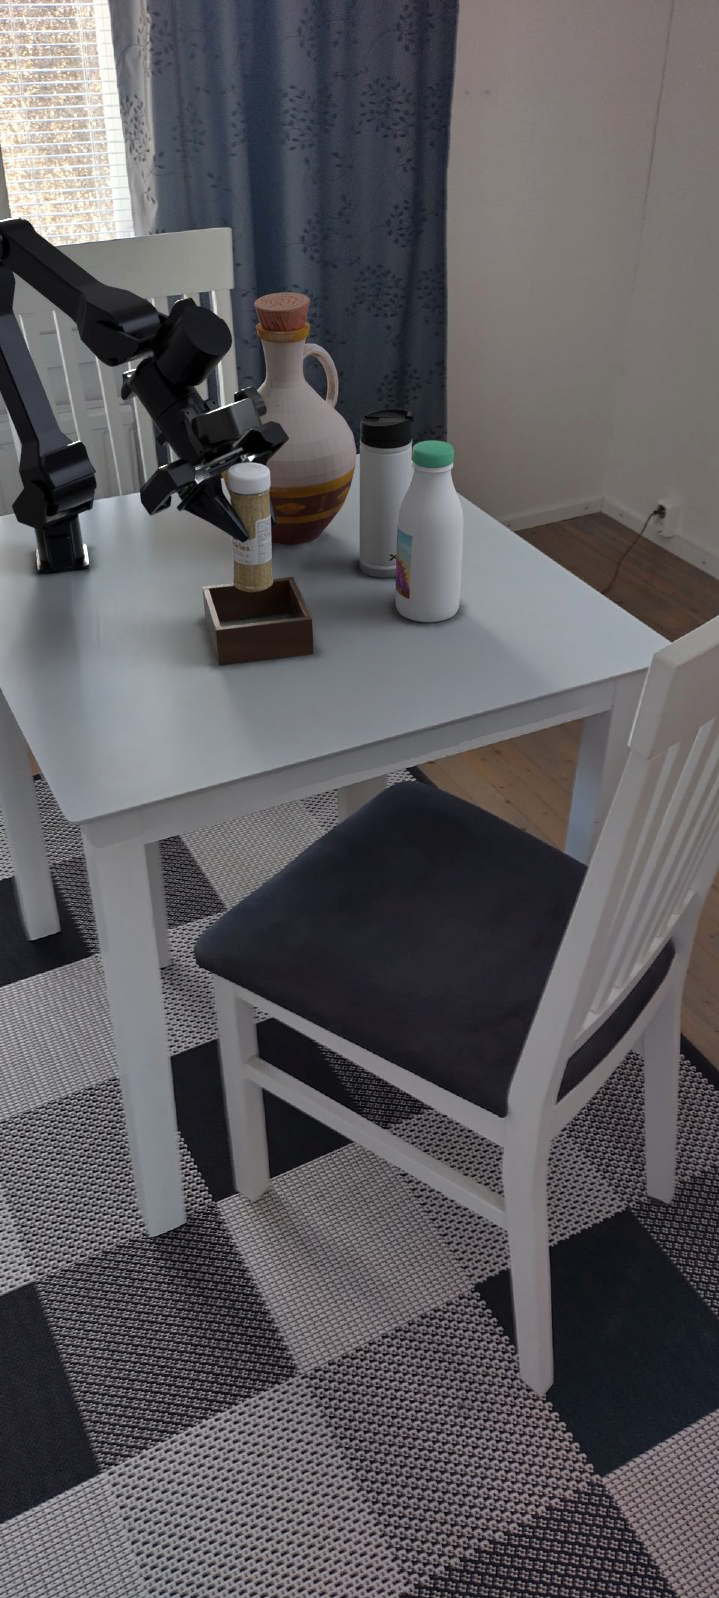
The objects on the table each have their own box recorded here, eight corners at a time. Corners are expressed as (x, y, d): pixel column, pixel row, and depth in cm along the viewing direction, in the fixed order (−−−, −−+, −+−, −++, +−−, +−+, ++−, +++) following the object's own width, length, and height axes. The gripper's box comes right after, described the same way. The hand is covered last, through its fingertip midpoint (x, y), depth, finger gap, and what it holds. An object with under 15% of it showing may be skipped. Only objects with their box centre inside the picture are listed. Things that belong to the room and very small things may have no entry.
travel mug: (406, 580, 148) (411, 422, 136) (355, 576, 149) (355, 418, 137) (414, 559, 153) (419, 405, 141) (364, 554, 154) (365, 401, 142)
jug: (288, 492, 170) (280, 271, 152) (389, 522, 162) (393, 291, 144) (197, 538, 158) (176, 303, 140) (301, 573, 149) (294, 327, 131)
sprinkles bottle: (224, 585, 132) (217, 469, 124) (253, 571, 135) (248, 457, 127) (254, 597, 130) (248, 480, 122) (282, 583, 133) (279, 468, 124)
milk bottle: (466, 599, 144) (476, 438, 132) (449, 628, 138) (458, 462, 126) (406, 590, 146) (410, 430, 134) (386, 618, 140) (389, 454, 128)
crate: (205, 620, 139) (202, 586, 137) (294, 610, 141) (293, 576, 139) (218, 666, 131) (215, 630, 128) (313, 654, 133) (312, 618, 130)
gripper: (148, 389, 114) (239, 526, 116) (273, 345, 126) (354, 469, 127) (101, 450, 123) (187, 576, 124) (223, 403, 135) (299, 518, 136)
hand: (260, 533), depth 128 cm, fingers closed on sprinkles bottle, 4 cm apart
